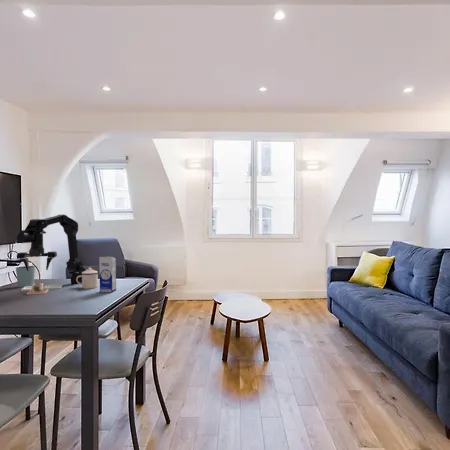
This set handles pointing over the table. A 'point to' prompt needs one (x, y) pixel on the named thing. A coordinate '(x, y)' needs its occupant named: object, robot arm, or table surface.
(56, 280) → the table surface
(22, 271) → the teal patterned cup
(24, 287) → the dish
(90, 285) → the teacup with lid
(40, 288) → the letter cube
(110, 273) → the milk carton
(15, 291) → the table surface
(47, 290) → the dish
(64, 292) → the table surface
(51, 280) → the table surface
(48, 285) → the dish
